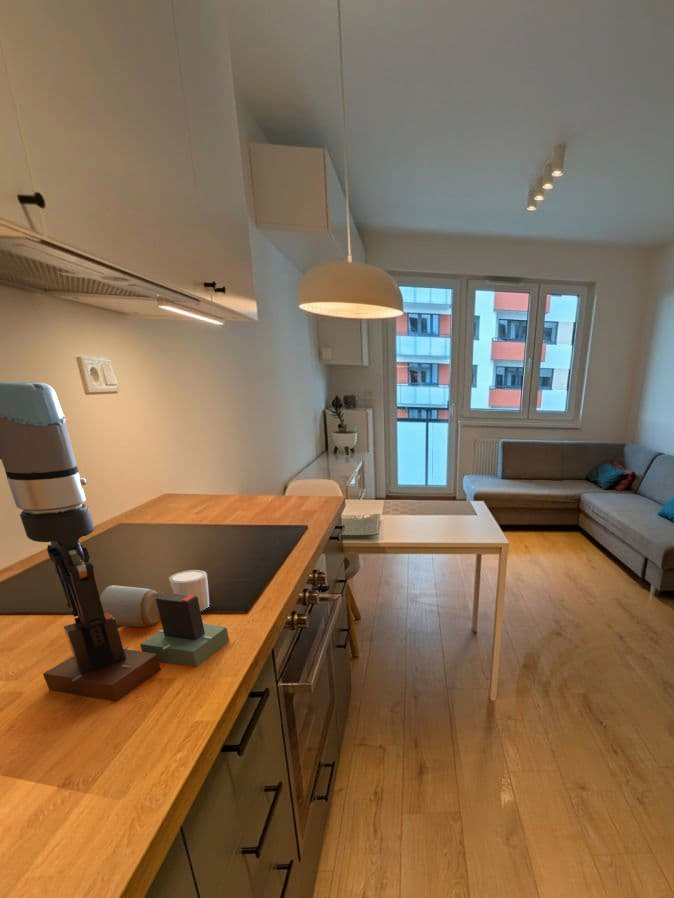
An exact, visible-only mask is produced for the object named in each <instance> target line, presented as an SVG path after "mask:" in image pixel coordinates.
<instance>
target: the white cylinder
mask: <svg viewBox="0 0 674 898" xmlns="http://www.w3.org/2000/svg"><path fill="white" fill-rule="evenodd" d="M168 581H169V584H170V587H171V590H172V594H180V595H188V596H189V595H196V597H198V602H199V607H200V612H201V611H202V612H204V611H203V610H205V609H206V608H208V607H209V608H210V606H211V605H210V604H211V603H210V593H209V582H208V581H209V580H208V573H207V571H204V570H198V569H190V570H189V569H188V570H183V571H179V572H176V573H174V574H172V575H170V576H169V577H168ZM209 605H210V606H209ZM209 608H208V609H209ZM206 610H207V609H206ZM206 610H205V611H206ZM202 612H201V613H202Z"/></svg>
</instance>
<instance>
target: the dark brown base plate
mask: <svg viewBox="0 0 674 898" xmlns="http://www.w3.org/2000/svg"><path fill="white" fill-rule="evenodd" d="M128 648H129V646H128V645H127V646H125V647H123V649H124V653H125V656H126V659H124V660H121V661H118V662H115V663H112V664H109V665H106V666H102V667H99V668H96V669H93V670H90V671H87V672H84V673H81V672H80V671H79V669H78V668H77V666H76V663H75V660H74V657H73V656H71V657H69V658H67V659H65V660H63V661H62V662H60V663H59V664H57V665H55V666H53V667H52V668H50V669H48V670H46V671H44V672H43V673H42V675H43V677H44V681H45V683H46V686H47V689H48V691H52V692H58V693H65V694H69V695H75V696H82V697H85V698H94V699H99V700H105V701H109V702H118V701H120V700H121V699H123V698H124V697H126V696H127V695H128V694H130V693H131V692H133V691H134V690H135V689H137V688H138V687H139V686H141V685H142V684H143V683H145V682H146V681H148V680H149V679H151V678H152V677H153V676H154V675H156V674H157V673H158V672H160V671H162V668H161V663H160V662H159V660H158V656H157V654H154V653H147V652H142V650H141V651H139V650H133V649H128Z"/></svg>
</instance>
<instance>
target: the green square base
mask: <svg viewBox="0 0 674 898" xmlns="http://www.w3.org/2000/svg"><path fill="white" fill-rule="evenodd" d="M202 621H203V626H204V631H205V634H203V635H202V636H201V637H199V638H198V639H196V640H191V639H184V638H177V637H170V636H164V631H163V629H160V630H157V633H155V634H153V635H152V636H150V637H148V638H147V639H145V640H144V641H142V642H140V644H139V645H140V650H141V652H147V653H154V654H157V656H158V660H159V663H166V664H173V665H179V666H185V667H193V668H198V667H199V666H200V665H202V664H203V663H204V662H205V661H207V660H208V658H210V657H211V656H213V655H214V654H216V653H217V652H218V651H219V650H220V649H222V648H223V647H224V646H225V645H227V644H228V643H229V642H230V637H229V632H228V627H227V626H225V625H216V624H208V623H206V620H202Z"/></svg>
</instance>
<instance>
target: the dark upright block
mask: <svg viewBox="0 0 674 898" xmlns="http://www.w3.org/2000/svg"><path fill="white" fill-rule="evenodd" d="M156 602H157V606H158V611H159V615H160V619H159V620H160V623H161V627H162V630H163V631H164V636H170V637H177V638H184V639H191V640H196V639H198V638H199V637H201V636H202V635H203V634H205V631H204V626H203V624H204V623H203V621H204V620H203V617H202V612H200V607H199V602H198V597H196V595H189V596H188V595H180V594H174V593H173V592H172V593H171V592H165V593H163V594H161V595H160V596H159V597H158V598H156Z"/></svg>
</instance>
